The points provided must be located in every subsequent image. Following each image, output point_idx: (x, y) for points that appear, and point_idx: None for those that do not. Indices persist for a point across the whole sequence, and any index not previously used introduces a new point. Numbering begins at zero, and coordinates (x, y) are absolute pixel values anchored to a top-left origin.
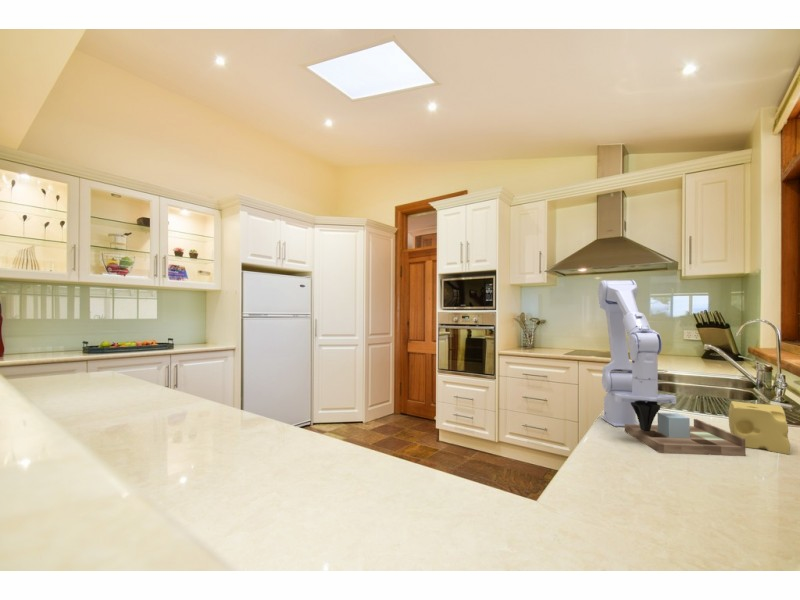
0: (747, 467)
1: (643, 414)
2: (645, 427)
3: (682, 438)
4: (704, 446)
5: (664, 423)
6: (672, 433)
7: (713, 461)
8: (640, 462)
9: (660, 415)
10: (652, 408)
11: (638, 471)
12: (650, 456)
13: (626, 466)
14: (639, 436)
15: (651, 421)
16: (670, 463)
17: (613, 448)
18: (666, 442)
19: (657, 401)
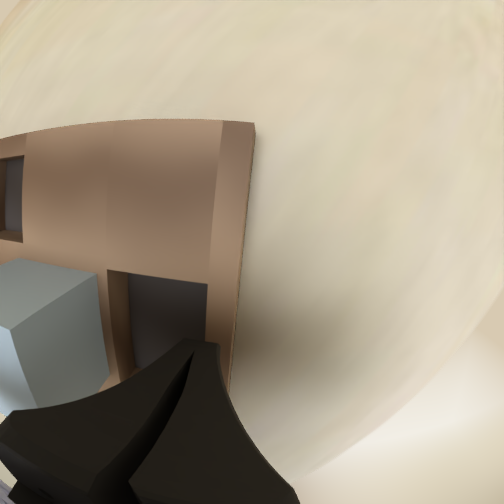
0: (35, 34)
1: (229, 430)
2: (214, 353)
3: (44, 253)
4: (26, 134)
5: (61, 354)
6: (66, 277)
7: (81, 54)
8: (428, 44)
9: None
10: (92, 455)
11: (457, 2)
12: (347, 87)
13: (479, 40)
14: (231, 356)
15: (152, 371)
16: (302, 8)
17: (454, 220)
18: (172, 166)
19: (8, 499)
